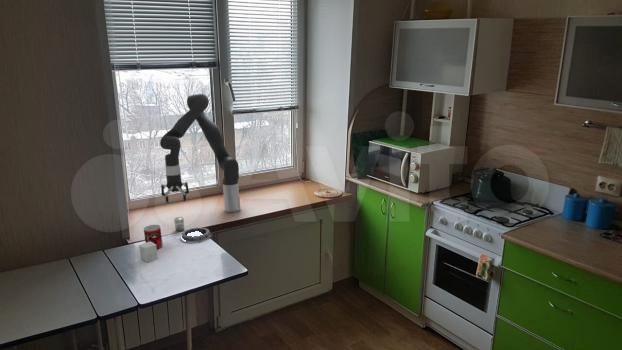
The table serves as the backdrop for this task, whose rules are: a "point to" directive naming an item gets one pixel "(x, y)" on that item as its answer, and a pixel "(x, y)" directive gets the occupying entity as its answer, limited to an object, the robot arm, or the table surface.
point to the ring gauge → (200, 238)
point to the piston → (179, 224)
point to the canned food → (153, 235)
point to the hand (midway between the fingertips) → (176, 201)
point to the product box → (148, 251)
